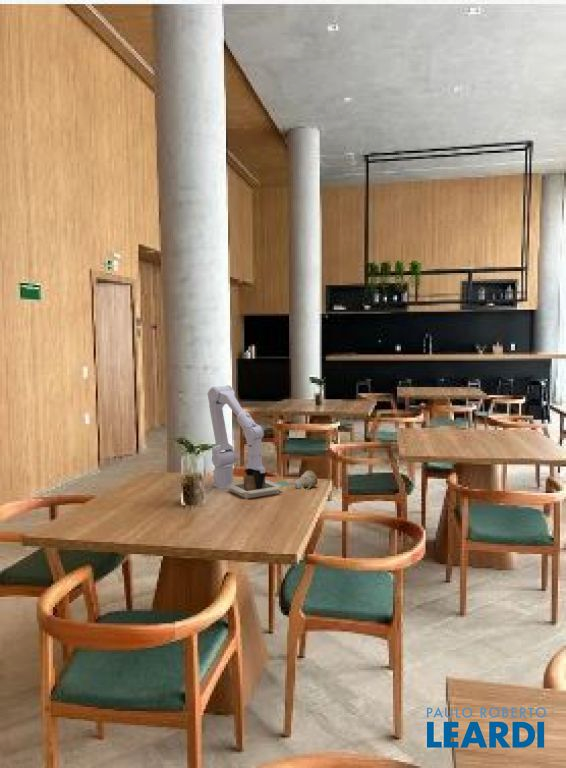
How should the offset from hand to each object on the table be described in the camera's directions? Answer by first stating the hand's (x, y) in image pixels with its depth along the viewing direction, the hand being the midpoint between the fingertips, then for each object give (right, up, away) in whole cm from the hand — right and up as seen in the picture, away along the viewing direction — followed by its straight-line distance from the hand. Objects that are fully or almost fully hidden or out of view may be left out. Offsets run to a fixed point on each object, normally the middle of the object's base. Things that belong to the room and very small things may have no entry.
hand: (256, 487), depth 251 cm
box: (-1, -2, 0) cm, 2 cm away
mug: (+21, -2, +6) cm, 22 cm away
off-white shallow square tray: (-1, -2, 0) cm, 2 cm away
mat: (+10, -1, +13) cm, 17 cm away
